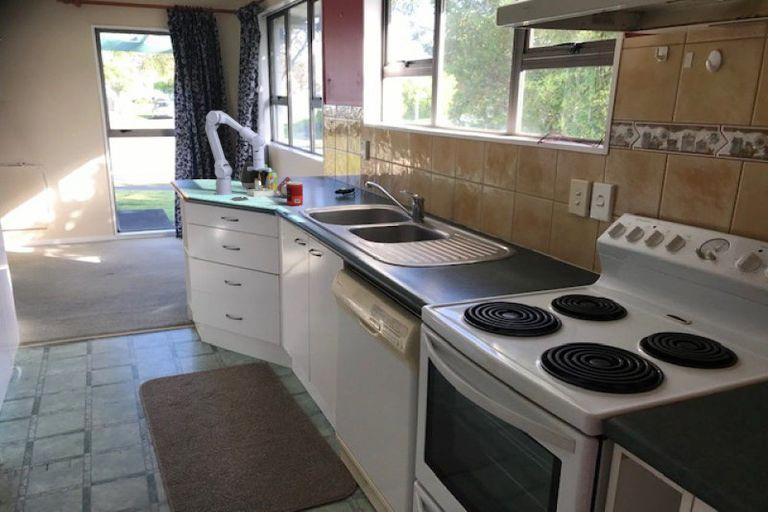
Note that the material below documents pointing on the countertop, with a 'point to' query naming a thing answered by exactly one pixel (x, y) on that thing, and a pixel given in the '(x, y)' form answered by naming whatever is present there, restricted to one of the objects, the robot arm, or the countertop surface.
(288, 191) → the canned food
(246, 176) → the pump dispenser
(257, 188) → the silver cylinder copper tab
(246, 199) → the socket seat
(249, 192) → the parts tray
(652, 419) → the countertop surface
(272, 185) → the chalk box
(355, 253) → the countertop surface
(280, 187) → the brake caliper
